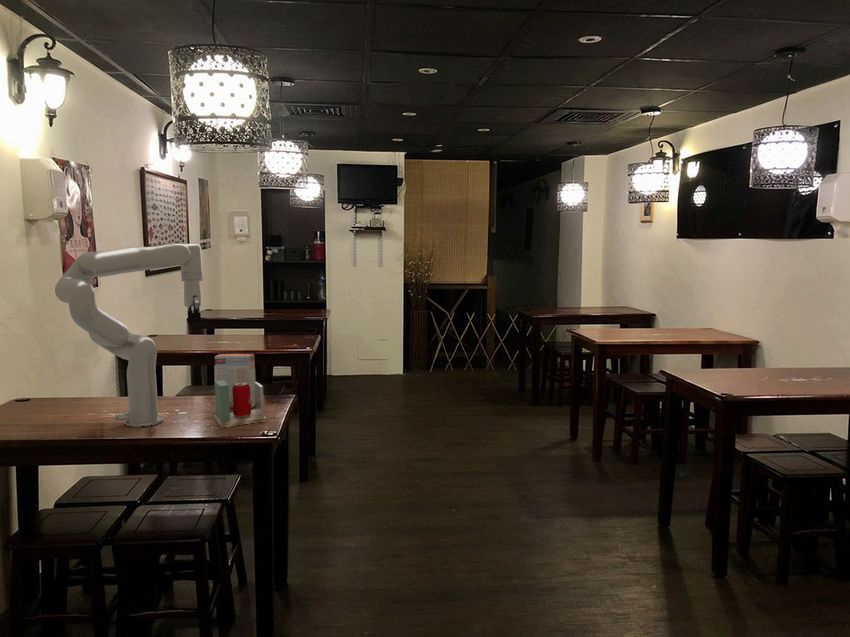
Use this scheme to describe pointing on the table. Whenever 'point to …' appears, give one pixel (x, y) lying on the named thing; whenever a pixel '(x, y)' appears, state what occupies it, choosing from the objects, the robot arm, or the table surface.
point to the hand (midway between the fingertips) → (194, 322)
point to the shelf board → (241, 419)
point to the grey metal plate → (259, 399)
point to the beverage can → (241, 399)
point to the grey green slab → (222, 400)
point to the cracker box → (236, 372)
